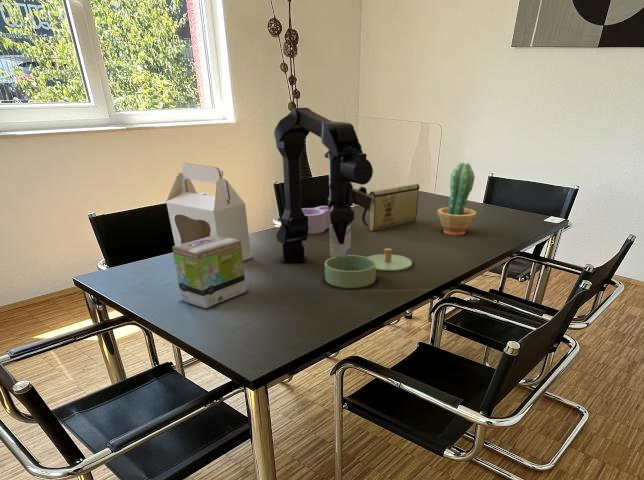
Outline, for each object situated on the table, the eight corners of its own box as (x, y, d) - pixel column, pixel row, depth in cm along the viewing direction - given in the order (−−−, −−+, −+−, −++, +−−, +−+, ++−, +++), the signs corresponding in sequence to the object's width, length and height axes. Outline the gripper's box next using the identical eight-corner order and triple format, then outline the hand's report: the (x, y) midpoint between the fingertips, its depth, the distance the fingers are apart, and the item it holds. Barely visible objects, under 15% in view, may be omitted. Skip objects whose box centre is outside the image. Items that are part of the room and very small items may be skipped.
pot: (325, 289, 135) (325, 271, 132) (324, 271, 147) (324, 255, 145) (377, 289, 136) (378, 271, 133) (372, 271, 148) (373, 254, 146)
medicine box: (345, 258, 130) (345, 225, 125) (329, 256, 131) (329, 224, 126) (351, 249, 136) (351, 218, 132) (336, 248, 137) (335, 217, 132)
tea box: (207, 309, 122) (197, 252, 114) (181, 301, 126) (169, 246, 118) (247, 292, 133) (241, 238, 124) (222, 285, 137) (214, 233, 129)
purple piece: (322, 221, 200) (321, 204, 196) (342, 227, 193) (342, 209, 189) (285, 230, 188) (284, 212, 184) (306, 236, 181) (305, 217, 177)
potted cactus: (479, 230, 191) (490, 162, 177) (465, 239, 180) (475, 167, 166) (444, 225, 198) (451, 159, 184) (428, 233, 187) (435, 163, 173)
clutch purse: (407, 218, 207) (409, 181, 199) (419, 221, 203) (422, 183, 194) (357, 229, 190) (358, 189, 182) (369, 233, 186) (370, 192, 178)
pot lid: (365, 273, 147) (365, 257, 144) (361, 257, 160) (361, 242, 157) (415, 272, 148) (417, 256, 145) (407, 257, 161) (408, 242, 158)
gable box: (252, 258, 158) (241, 166, 142) (223, 268, 149) (208, 171, 133) (206, 247, 168) (191, 159, 152) (176, 256, 158) (157, 164, 143)
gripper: (374, 185, 116) (372, 249, 124) (367, 173, 131) (365, 230, 140) (329, 185, 115) (330, 249, 123) (327, 173, 130) (328, 230, 139)
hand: (340, 239), depth 131 cm, fingers closed on medicine box, 8 cm apart
